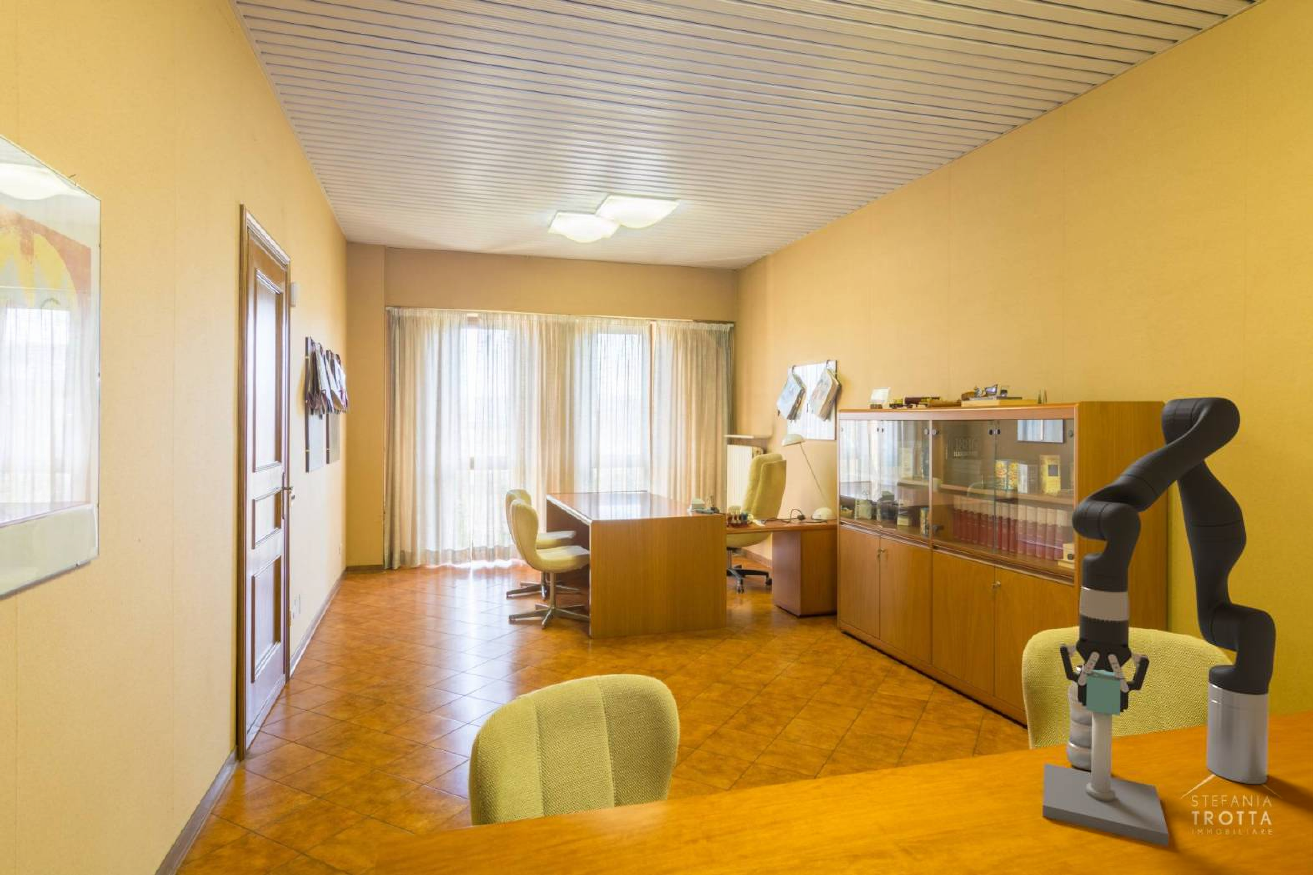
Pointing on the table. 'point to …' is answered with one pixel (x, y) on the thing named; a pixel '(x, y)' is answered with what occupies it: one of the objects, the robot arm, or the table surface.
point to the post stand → (1103, 794)
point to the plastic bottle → (1079, 730)
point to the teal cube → (1103, 692)
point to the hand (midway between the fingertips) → (1102, 707)
